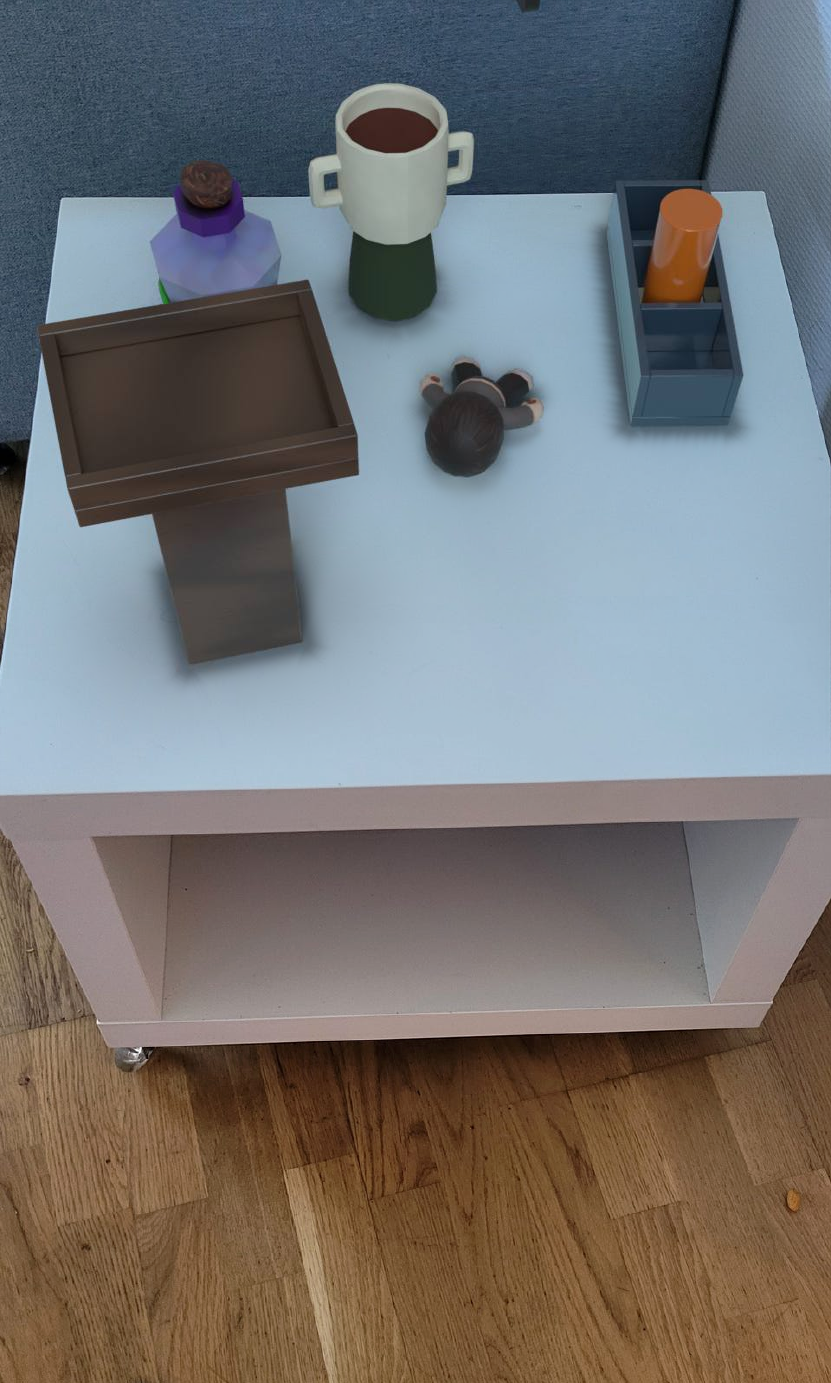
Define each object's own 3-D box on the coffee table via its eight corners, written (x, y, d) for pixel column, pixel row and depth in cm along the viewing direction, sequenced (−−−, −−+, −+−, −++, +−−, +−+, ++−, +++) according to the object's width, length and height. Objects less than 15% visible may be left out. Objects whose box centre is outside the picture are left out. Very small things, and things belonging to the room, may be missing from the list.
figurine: (430, 392, 90) (387, 476, 84) (436, 324, 86) (392, 407, 80) (548, 420, 89) (513, 506, 83) (559, 353, 85) (523, 438, 79)
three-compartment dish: (696, 234, 95) (709, 179, 91) (728, 426, 87) (743, 375, 84) (606, 234, 95) (615, 180, 91) (630, 426, 87) (641, 376, 83)
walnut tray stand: (326, 519, 84) (308, 278, 67) (366, 657, 79) (358, 435, 63) (108, 561, 82) (36, 324, 66) (137, 704, 78) (67, 489, 61)
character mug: (451, 248, 94) (459, 68, 83) (481, 316, 91) (493, 140, 80) (305, 276, 93) (291, 98, 81) (330, 346, 90) (320, 172, 78)
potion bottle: (141, 326, 91) (106, 164, 80) (244, 274, 93) (224, 110, 82) (210, 400, 88) (184, 243, 77) (314, 344, 90) (303, 185, 79)
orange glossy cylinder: (701, 300, 91) (728, 195, 84) (690, 340, 89) (715, 236, 82) (646, 287, 91) (667, 182, 84) (633, 326, 90) (653, 223, 83)
